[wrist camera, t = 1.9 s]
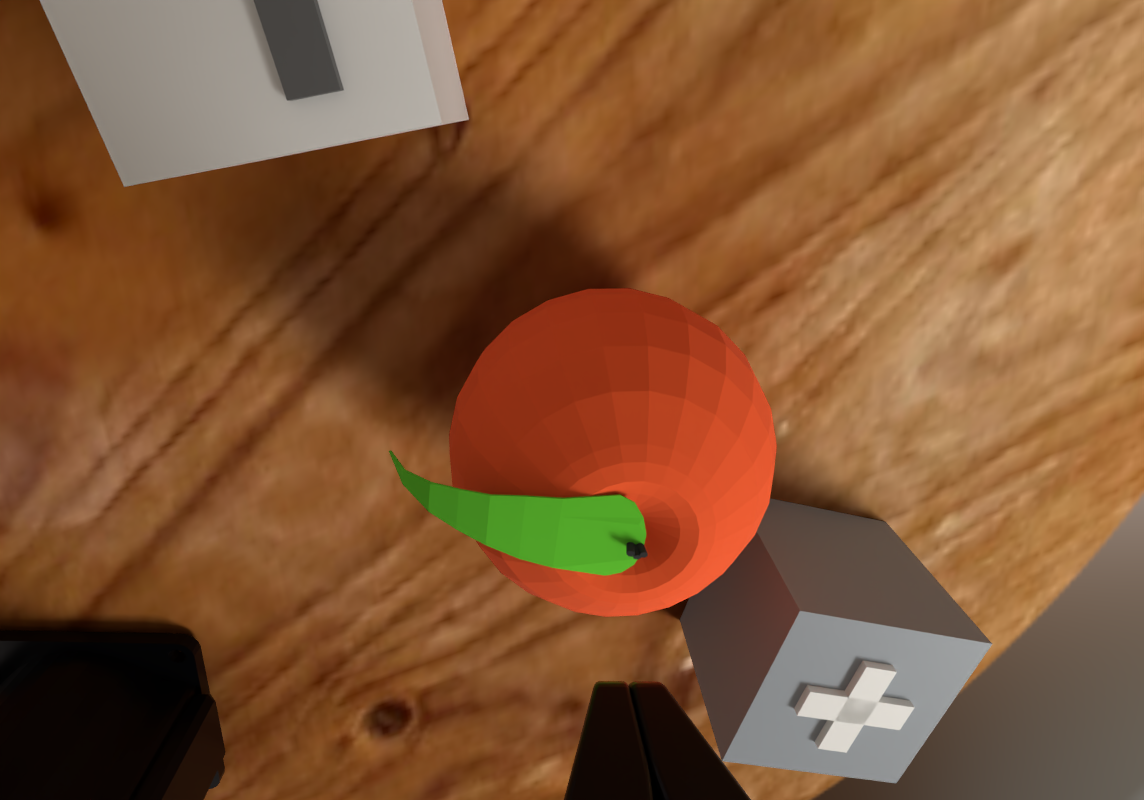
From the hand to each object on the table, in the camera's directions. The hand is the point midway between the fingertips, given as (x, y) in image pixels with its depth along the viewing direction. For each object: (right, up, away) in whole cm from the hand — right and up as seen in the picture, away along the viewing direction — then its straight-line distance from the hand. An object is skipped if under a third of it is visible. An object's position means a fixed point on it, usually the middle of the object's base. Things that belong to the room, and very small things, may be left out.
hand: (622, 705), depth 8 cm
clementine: (-1, +4, +9) cm, 10 cm away
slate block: (+6, -2, +12) cm, 14 cm away
